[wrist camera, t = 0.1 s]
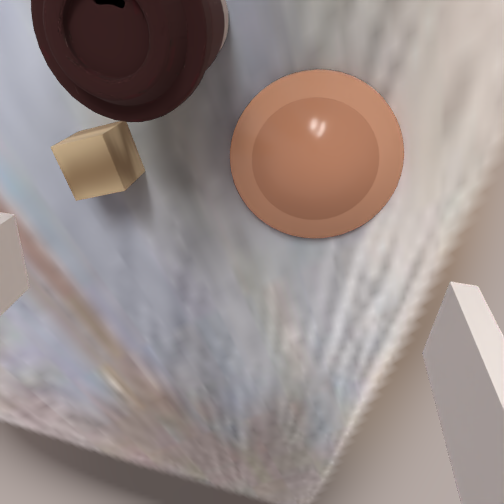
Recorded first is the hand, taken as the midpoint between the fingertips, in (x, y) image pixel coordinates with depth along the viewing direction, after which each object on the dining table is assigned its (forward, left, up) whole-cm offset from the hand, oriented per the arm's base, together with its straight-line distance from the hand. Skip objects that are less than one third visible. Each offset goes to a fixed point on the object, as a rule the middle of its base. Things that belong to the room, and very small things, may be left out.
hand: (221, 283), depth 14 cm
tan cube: (+7, -16, -28) cm, 33 cm away
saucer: (+5, +3, -28) cm, 28 cm away
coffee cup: (-5, -9, -28) cm, 30 cm away
